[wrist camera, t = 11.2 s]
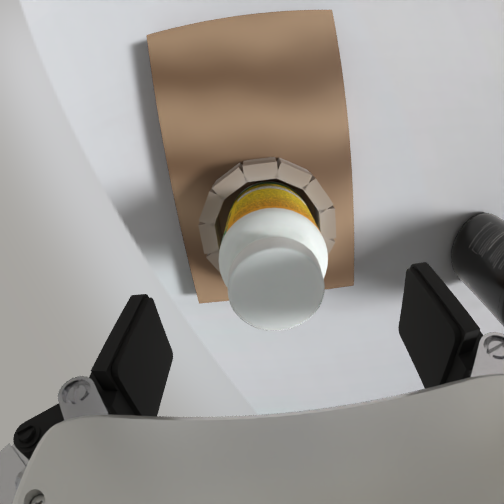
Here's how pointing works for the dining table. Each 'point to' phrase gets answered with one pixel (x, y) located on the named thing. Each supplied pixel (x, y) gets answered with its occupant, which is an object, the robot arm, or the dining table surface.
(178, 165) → the collar board
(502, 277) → the supplement bottle
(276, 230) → the supplement bottle
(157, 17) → the dining table surface
